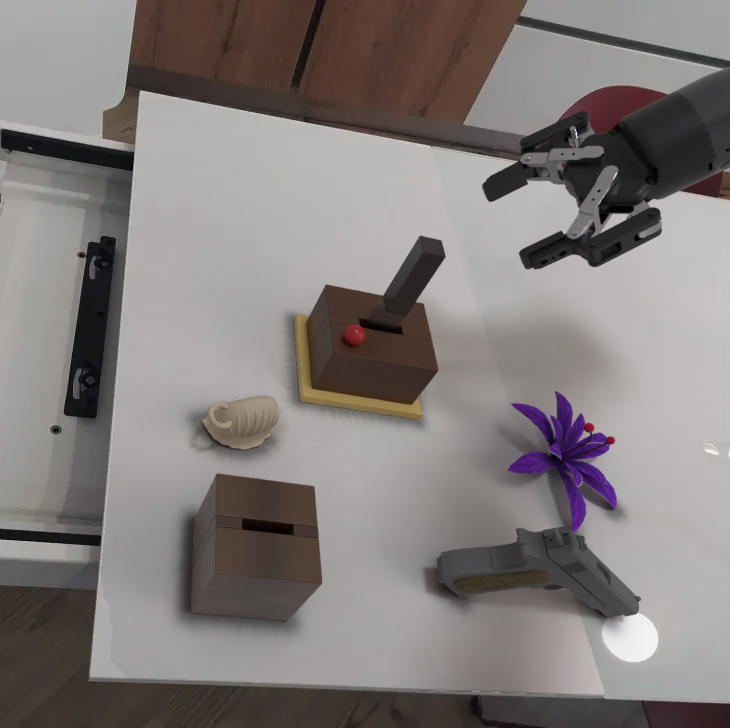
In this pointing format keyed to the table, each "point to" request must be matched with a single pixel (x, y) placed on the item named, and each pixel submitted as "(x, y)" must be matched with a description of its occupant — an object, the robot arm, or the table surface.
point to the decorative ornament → (242, 421)
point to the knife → (407, 284)
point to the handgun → (539, 570)
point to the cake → (363, 356)
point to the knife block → (255, 549)
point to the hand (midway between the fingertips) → (502, 226)
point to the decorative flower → (567, 455)
